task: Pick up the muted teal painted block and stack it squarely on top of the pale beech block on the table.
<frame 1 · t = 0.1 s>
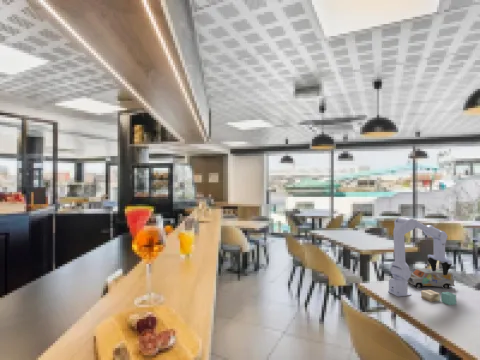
hand: (439, 272, 172), 10 cm above the table, tool pointing down, fingers open, 7 cm apart
teal block: (448, 303, 153), on the table
toy car: (429, 286, 179), on the table
beech block: (430, 299, 158), on the table
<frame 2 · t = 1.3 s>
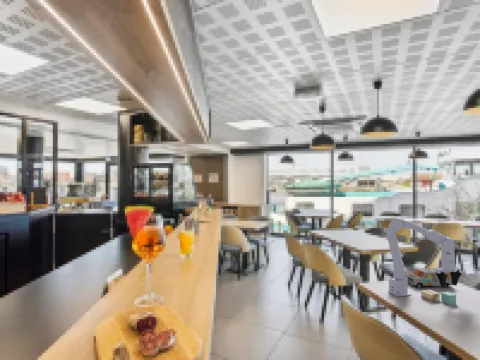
hand: (448, 285, 153), 9 cm above the table, tool pointing down, fingers open, 7 cm apart
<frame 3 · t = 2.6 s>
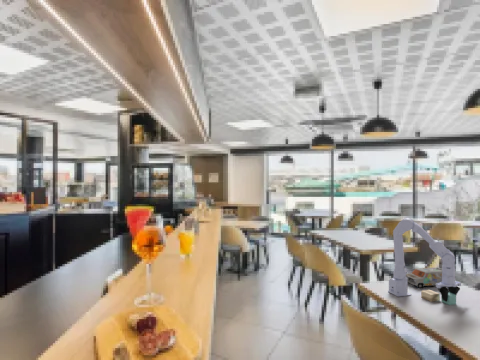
hand: (448, 300, 153), 1 cm above the table, tool pointing down, fingers closed on teal block, 4 cm apart
teal block: (448, 302, 153), on the table, touching gripper
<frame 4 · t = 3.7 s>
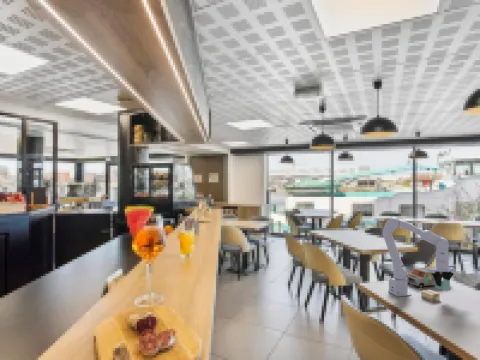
hand: (442, 285, 155), 9 cm above the table, tool pointing down, fingers closed on teal block, 4 cm apart
teal block: (442, 288, 154), point 7 cm above the table, touching gripper
when the fingers open (7 cm above the table, at t = 4.9 s): teal block drops 1 cm, resting on beech block.
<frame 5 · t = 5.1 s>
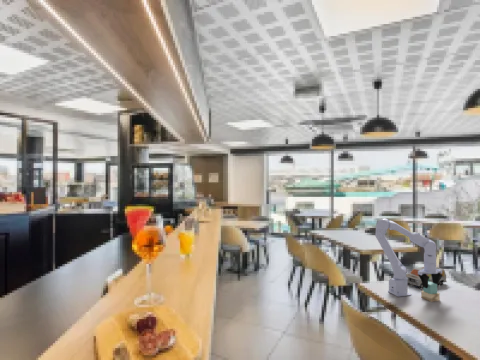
hand: (430, 287, 158), 7 cm above the table, tool pointing down, fingers open, 6 cm apart
teal block: (430, 292, 158), point 4 cm above the table, touching beech block
beech block: (430, 299, 158), on the table, touching teal block
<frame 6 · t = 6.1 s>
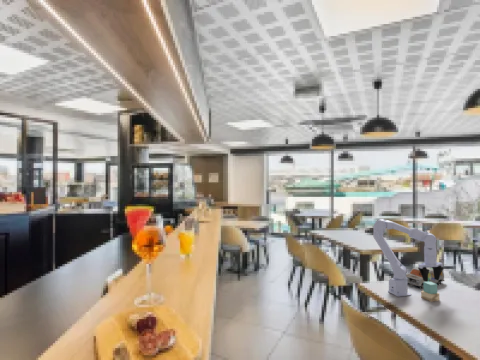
hand: (431, 280, 158), 10 cm above the table, tool pointing down, fingers open, 7 cm apart
teal block: (430, 292, 158), point 4 cm above the table
beech block: (430, 299, 158), on the table
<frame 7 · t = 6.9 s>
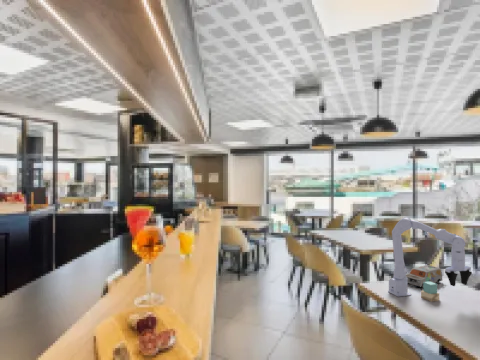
hand: (458, 284, 151), 10 cm above the table, tool pointing down, fingers open, 7 cm apart
teal block: (430, 292, 158), point 4 cm above the table, touching beech block
beech block: (430, 299, 158), on the table, touching teal block
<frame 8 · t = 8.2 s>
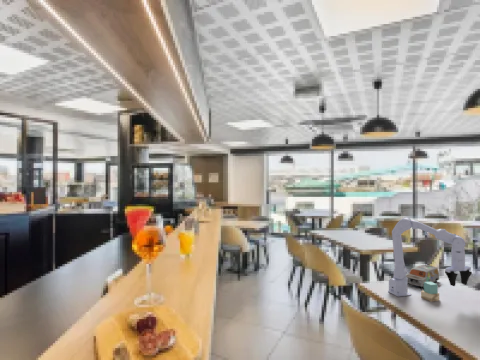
hand: (458, 284, 151), 10 cm above the table, tool pointing down, fingers open, 7 cm apart
at the end: teal block 0.3 cm off-centre on the beech block, point 4.0 cm above the beech block's base; teal block tilted 0°; the gripper is holding nothing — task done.
